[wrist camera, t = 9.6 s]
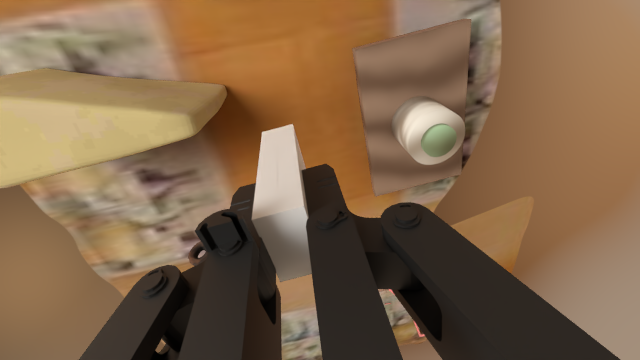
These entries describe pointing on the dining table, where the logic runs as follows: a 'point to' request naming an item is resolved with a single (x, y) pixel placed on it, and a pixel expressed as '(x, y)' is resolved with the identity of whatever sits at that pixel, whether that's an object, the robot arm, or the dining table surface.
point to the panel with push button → (414, 105)
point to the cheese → (92, 119)
